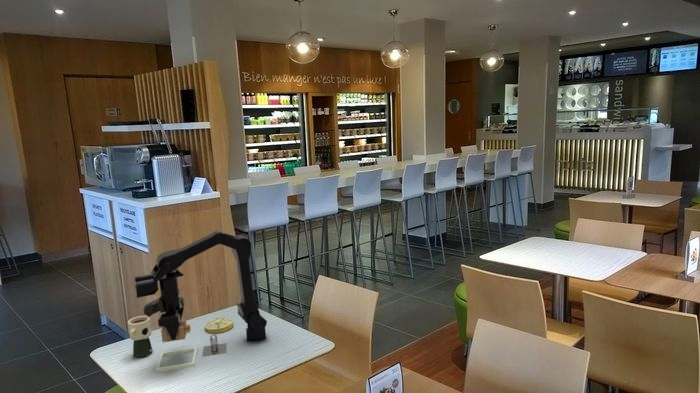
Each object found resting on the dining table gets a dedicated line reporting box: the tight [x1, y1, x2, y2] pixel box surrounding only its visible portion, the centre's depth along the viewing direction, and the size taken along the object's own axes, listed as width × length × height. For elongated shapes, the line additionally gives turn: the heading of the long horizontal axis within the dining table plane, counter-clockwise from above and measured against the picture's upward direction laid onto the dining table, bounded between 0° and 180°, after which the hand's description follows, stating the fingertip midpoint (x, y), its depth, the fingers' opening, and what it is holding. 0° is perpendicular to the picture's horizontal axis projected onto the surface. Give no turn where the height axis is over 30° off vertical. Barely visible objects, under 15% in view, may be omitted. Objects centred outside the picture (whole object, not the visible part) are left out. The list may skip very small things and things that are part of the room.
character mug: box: [127, 315, 153, 357], centre depth 167 cm, size 11×7×13 cm, turn 174°
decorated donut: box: [203, 317, 234, 335], centre depth 185 cm, size 10×11×4 cm
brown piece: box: [160, 319, 191, 343], centre depth 159 cm, size 7×8×4 cm
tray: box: [155, 346, 198, 373], centre depth 160 cm, size 12×12×2 cm
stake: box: [201, 334, 227, 358], centre depth 167 cm, size 8×8×6 cm
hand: (174, 335), depth 159 cm, fingers closed on brown piece, 7 cm apart
